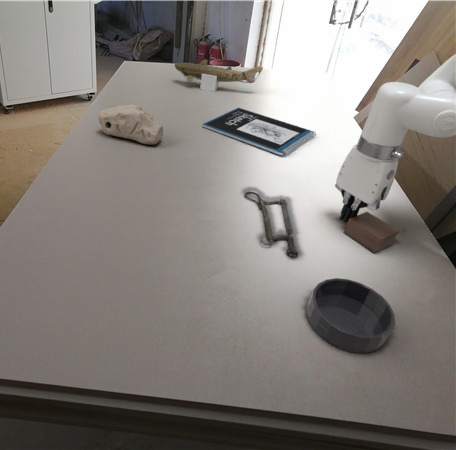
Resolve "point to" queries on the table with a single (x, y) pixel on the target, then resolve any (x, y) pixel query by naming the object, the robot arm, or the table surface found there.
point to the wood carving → (214, 74)
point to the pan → (350, 315)
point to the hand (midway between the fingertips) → (346, 219)
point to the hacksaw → (292, 248)
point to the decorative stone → (130, 124)
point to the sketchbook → (260, 131)
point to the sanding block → (370, 232)
